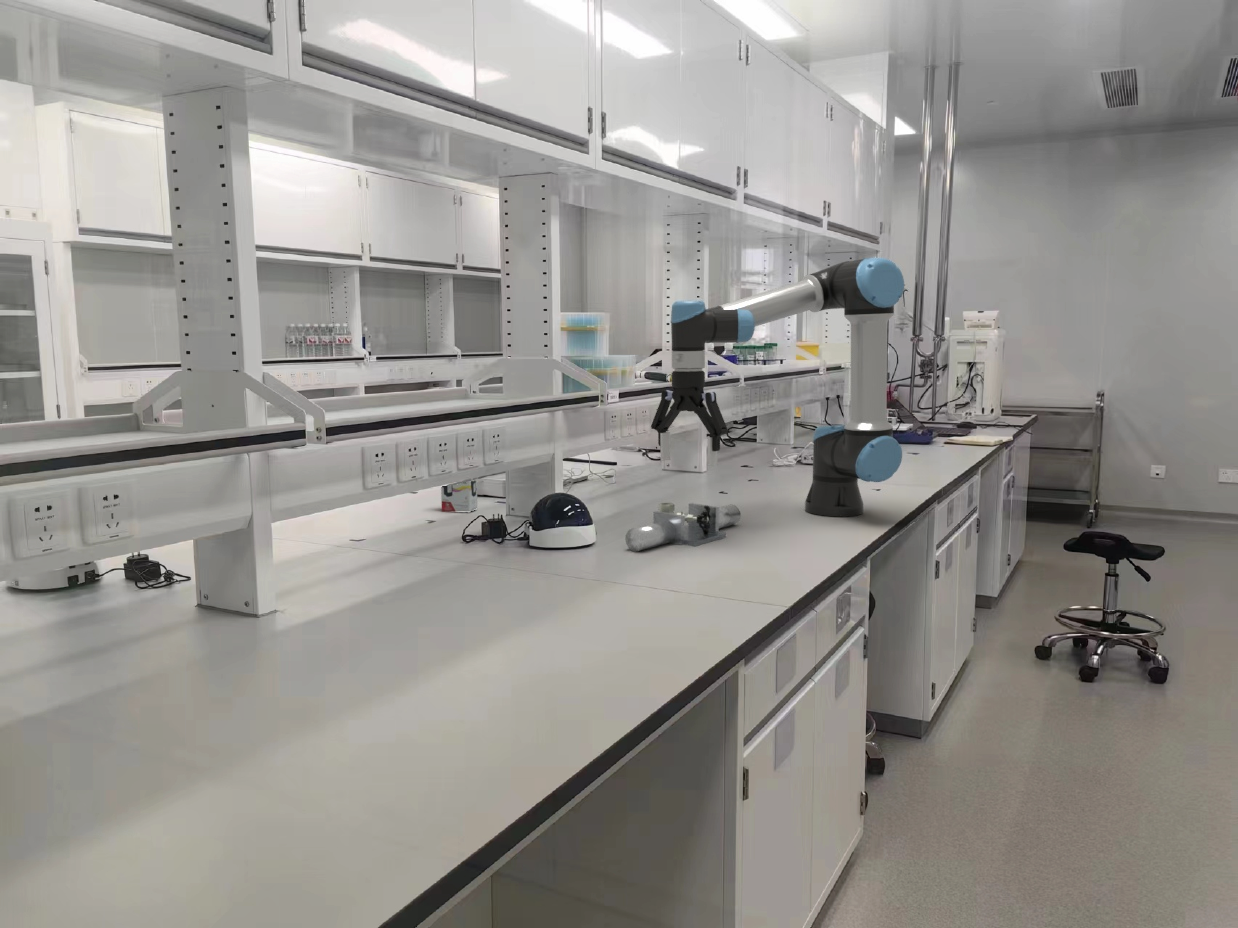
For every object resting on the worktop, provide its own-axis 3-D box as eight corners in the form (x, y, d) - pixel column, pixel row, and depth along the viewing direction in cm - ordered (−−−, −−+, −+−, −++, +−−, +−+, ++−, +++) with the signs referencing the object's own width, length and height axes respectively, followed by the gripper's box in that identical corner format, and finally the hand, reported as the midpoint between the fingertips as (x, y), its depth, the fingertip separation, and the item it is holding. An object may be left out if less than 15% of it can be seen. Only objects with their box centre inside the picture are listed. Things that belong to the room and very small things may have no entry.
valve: (654, 533, 203) (706, 536, 201) (654, 505, 202) (706, 508, 200) (660, 527, 210) (710, 530, 207) (660, 500, 209) (710, 502, 206)
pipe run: (709, 520, 223) (709, 495, 222) (755, 528, 214) (756, 502, 213) (610, 546, 196) (610, 517, 195) (659, 556, 186) (659, 526, 186)
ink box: (440, 511, 234) (439, 467, 233) (449, 508, 239) (448, 465, 237) (469, 513, 232) (468, 469, 230) (478, 509, 236) (477, 466, 235)
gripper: (635, 369, 205) (636, 459, 208) (723, 371, 188) (723, 469, 191) (656, 368, 210) (656, 456, 213) (743, 370, 194) (743, 465, 197)
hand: (688, 462), depth 202 cm, fingers open, 13 cm apart
